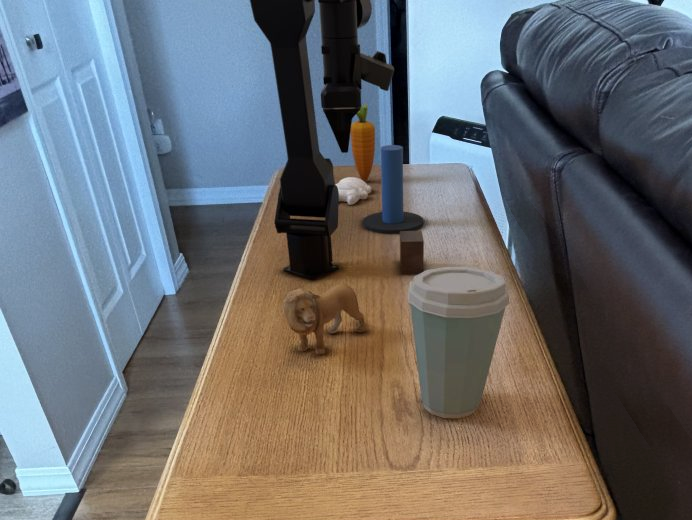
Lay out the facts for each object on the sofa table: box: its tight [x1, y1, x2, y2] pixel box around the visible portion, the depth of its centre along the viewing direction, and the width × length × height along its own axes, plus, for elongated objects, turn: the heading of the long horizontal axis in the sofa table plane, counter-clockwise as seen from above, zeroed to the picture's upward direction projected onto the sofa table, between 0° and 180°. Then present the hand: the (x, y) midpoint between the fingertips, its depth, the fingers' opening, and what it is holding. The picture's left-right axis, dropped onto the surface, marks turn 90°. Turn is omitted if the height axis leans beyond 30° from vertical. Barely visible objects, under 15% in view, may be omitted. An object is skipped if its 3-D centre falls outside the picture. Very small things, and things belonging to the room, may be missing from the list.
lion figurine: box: [282, 284, 366, 356], centre depth 94 cm, size 15×5×9 cm, turn 150°
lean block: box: [399, 230, 425, 275], centre depth 116 cm, size 4×5×5 cm
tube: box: [380, 144, 404, 223], centre depth 130 cm, size 11×4×11 cm
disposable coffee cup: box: [407, 266, 510, 419], centre depth 79 cm, size 11×11×15 cm
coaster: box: [362, 211, 425, 234], centre depth 134 cm, size 11×11×1 cm
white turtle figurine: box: [335, 176, 372, 206], centre depth 147 cm, size 9×12×3 cm
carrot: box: [350, 103, 376, 183], centre depth 151 cm, size 5×5×15 cm
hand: (345, 145), depth 126 cm, fingers open, 9 cm apart
